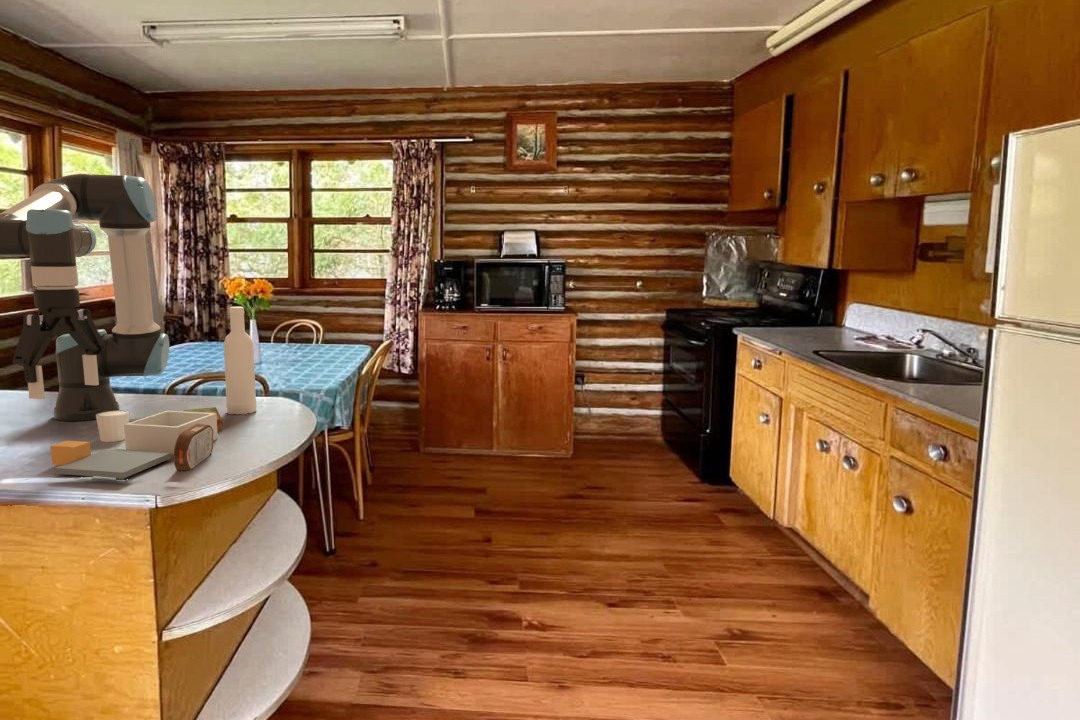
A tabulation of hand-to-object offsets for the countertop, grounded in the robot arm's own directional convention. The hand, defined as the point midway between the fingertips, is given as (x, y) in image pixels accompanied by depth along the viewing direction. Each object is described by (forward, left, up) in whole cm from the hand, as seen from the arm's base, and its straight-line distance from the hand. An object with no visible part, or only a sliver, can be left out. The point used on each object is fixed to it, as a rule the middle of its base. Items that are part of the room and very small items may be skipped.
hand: (65, 391), depth 141 cm
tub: (+10, +18, -16) cm, 26 cm away
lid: (+8, 0, -17) cm, 18 cm away
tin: (+23, +7, -17) cm, 30 cm away
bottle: (+4, +55, -17) cm, 57 cm away
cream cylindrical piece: (-7, +20, -17) cm, 27 cm away
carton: (+5, +36, -17) cm, 40 cm away
